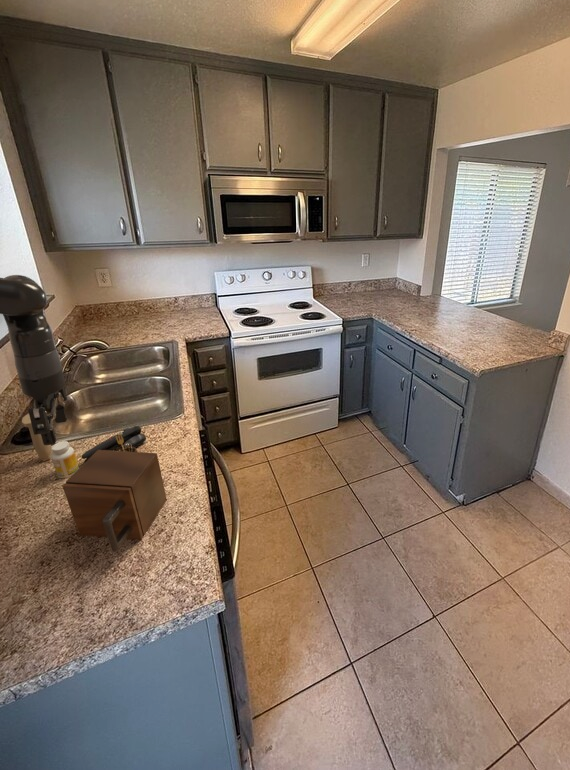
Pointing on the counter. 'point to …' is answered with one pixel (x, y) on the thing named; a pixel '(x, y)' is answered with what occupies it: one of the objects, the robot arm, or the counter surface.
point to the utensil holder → (129, 449)
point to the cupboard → (127, 479)
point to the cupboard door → (104, 512)
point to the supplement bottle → (64, 459)
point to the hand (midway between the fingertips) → (56, 432)
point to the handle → (38, 441)
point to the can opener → (128, 435)
